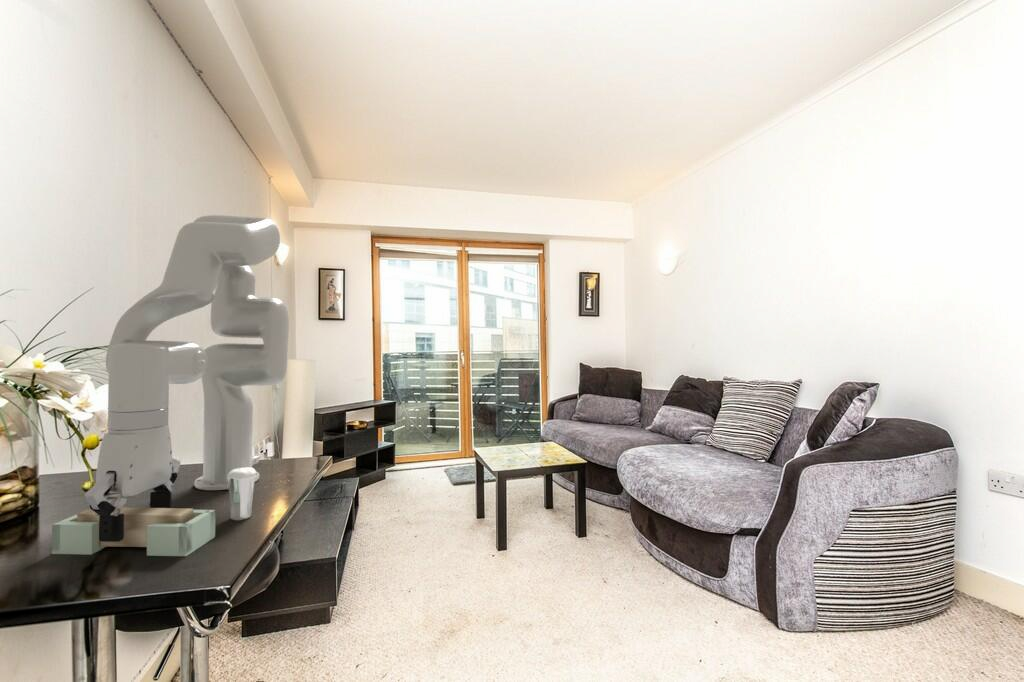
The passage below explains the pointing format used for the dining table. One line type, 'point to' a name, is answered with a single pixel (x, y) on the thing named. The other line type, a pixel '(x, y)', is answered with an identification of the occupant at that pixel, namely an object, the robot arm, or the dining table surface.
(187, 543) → the endcap
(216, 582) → the dining table surface
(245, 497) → the milkshake
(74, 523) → the endcap
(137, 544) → the slat
